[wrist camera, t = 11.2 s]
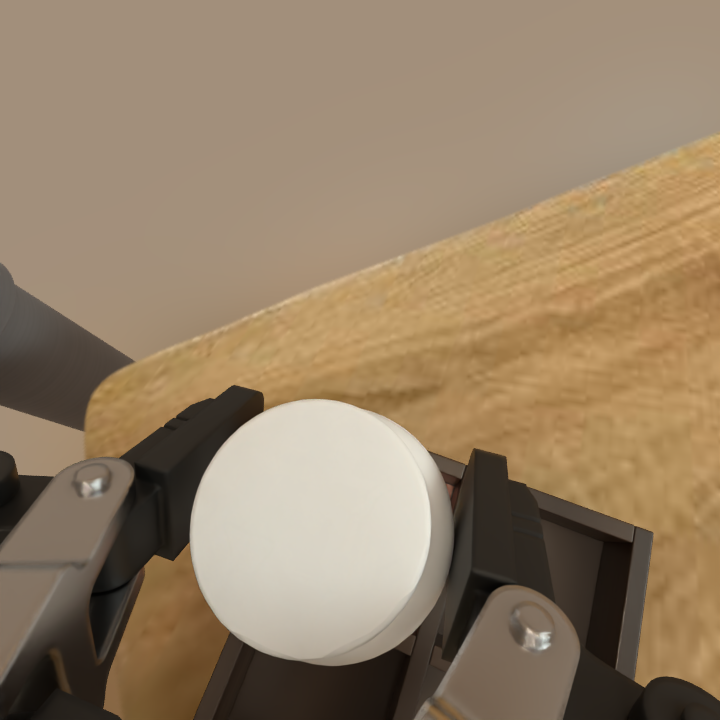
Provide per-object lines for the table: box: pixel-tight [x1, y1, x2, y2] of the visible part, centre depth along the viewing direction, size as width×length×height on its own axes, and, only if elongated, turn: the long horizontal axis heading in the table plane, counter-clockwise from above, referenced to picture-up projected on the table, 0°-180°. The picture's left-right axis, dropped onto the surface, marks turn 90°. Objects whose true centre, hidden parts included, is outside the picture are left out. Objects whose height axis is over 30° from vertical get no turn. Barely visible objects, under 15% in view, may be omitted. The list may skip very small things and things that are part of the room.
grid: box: [193, 451, 653, 720], centre depth 20 cm, size 16×16×4 cm
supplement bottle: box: [190, 399, 454, 666], centre depth 11 cm, size 5×5×10 cm
